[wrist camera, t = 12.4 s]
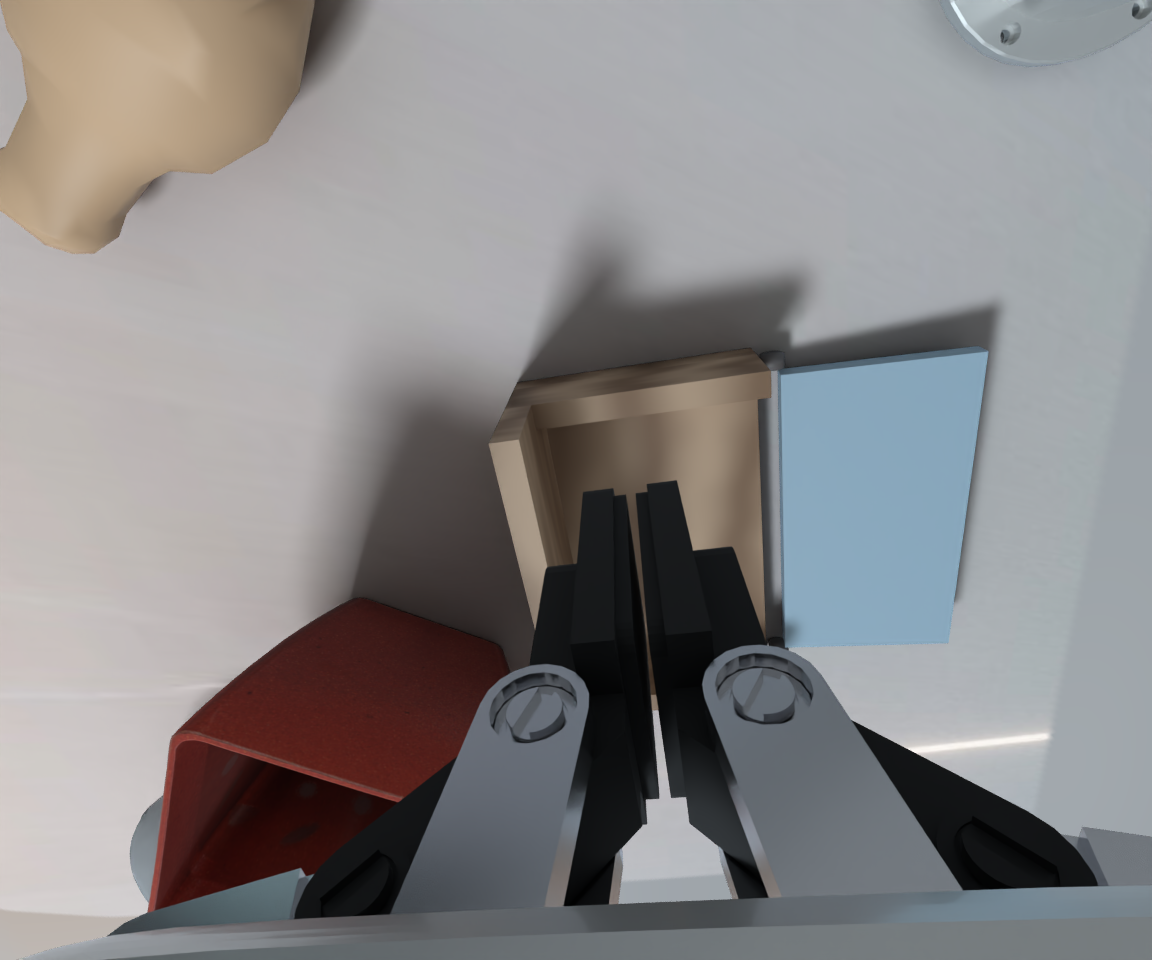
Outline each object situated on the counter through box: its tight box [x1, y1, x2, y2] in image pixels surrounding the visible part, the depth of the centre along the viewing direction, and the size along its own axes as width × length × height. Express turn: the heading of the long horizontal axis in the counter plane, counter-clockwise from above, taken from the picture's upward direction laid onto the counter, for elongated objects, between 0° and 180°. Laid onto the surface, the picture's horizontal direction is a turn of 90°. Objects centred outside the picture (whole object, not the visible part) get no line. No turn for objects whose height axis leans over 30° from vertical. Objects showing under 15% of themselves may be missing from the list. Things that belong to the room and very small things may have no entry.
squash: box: [0, 0, 315, 254], centre depth 27 cm, size 11×20×9 cm, turn 131°
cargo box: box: [489, 348, 789, 710], centre depth 37 cm, size 16×24×10 cm
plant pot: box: [147, 598, 510, 913], centre depth 42 cm, size 19×19×17 cm
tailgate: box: [778, 346, 988, 647], centre depth 39 cm, size 1×21×11 cm
